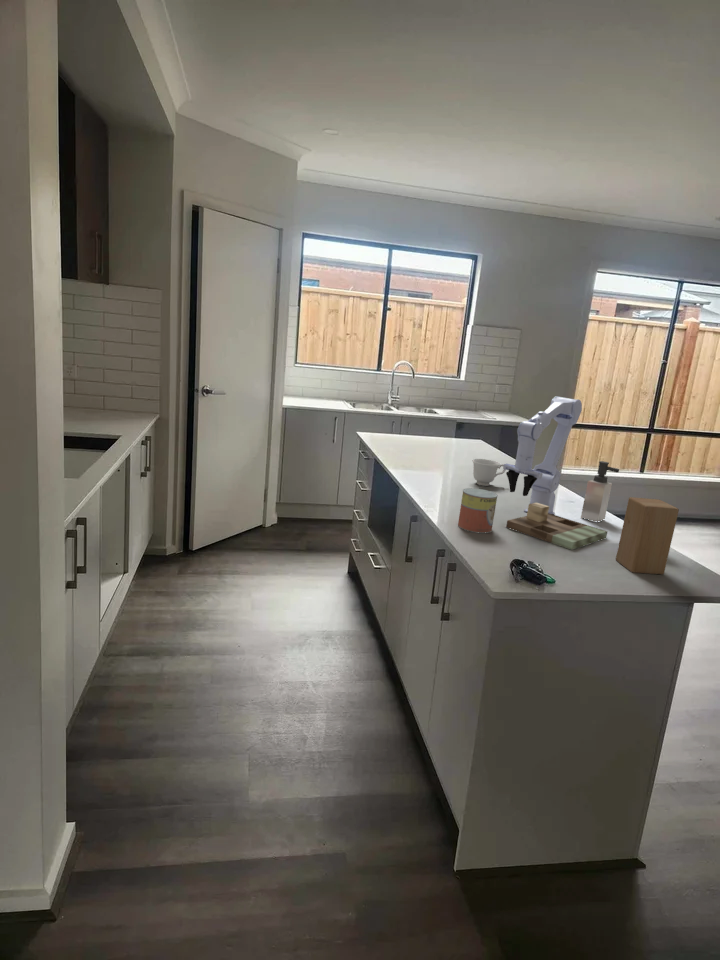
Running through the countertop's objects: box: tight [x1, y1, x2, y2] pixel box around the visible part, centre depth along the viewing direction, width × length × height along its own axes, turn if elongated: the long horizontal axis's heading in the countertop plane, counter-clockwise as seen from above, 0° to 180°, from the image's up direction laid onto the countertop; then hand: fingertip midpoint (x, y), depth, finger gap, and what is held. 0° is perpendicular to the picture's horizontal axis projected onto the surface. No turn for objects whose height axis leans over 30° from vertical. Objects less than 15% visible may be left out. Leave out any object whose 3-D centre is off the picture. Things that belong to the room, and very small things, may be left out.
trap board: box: [505, 513, 608, 551], centre depth 209 cm, size 24×24×2 cm
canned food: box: [457, 487, 498, 534], centre depth 204 cm, size 11×11×12 cm
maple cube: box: [526, 503, 549, 522], centre depth 214 cm, size 5×5×5 cm
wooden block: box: [615, 496, 679, 575], centre depth 181 cm, size 10×10×20 cm
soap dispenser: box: [580, 460, 620, 522], centre depth 229 cm, size 6×9×22 cm
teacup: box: [472, 458, 507, 487], centre depth 270 cm, size 12×15×10 cm
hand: (518, 493), depth 219 cm, fingers open, 5 cm apart
